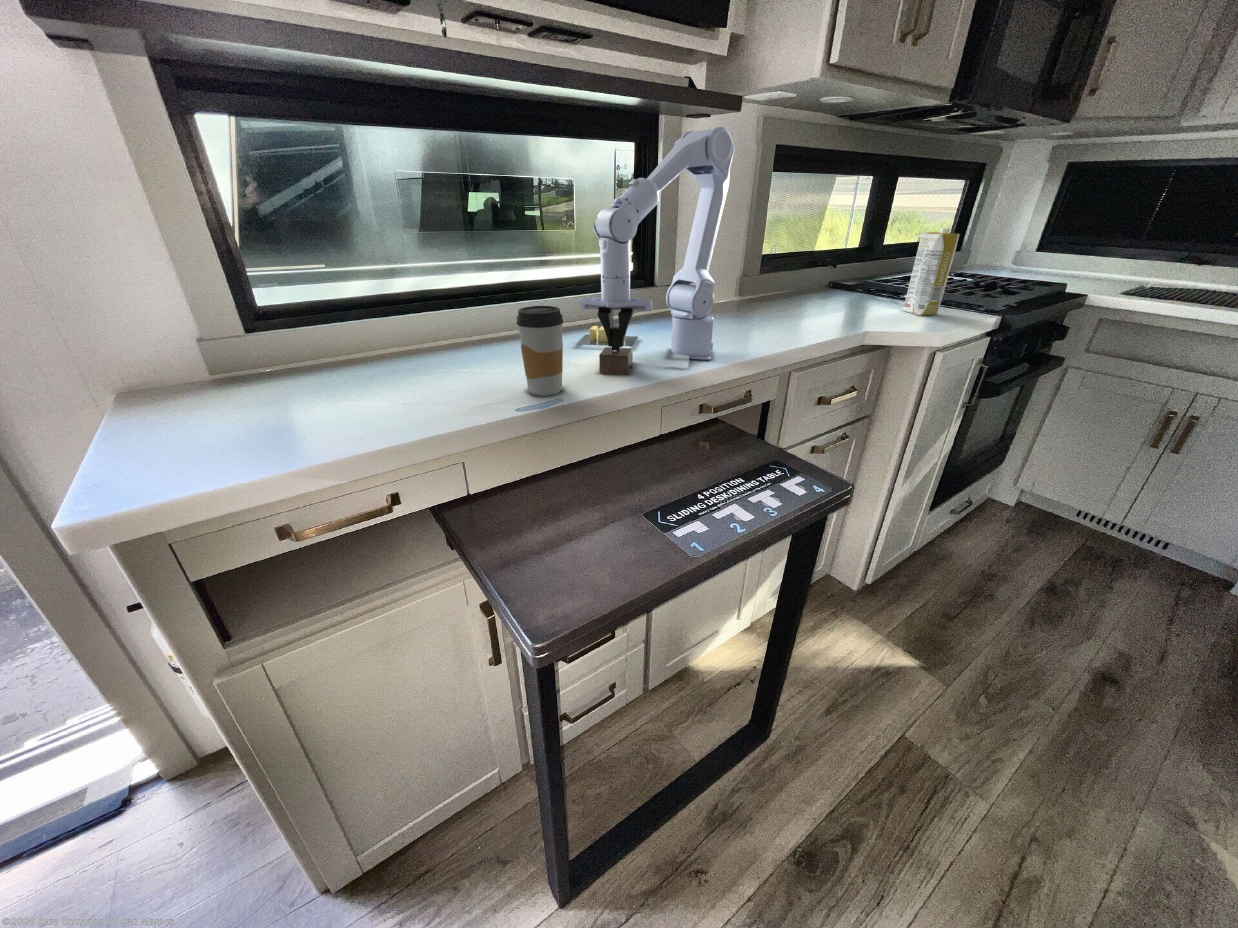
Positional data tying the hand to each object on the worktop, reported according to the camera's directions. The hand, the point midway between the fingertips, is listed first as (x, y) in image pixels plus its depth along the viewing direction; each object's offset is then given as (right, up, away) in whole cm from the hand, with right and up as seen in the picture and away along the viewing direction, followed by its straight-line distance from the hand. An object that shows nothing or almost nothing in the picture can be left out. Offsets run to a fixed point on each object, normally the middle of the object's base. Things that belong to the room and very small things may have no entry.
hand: (616, 345), depth 105 cm
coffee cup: (-13, -11, -9) cm, 19 cm away
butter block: (-1, +6, +21) cm, 22 cm away
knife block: (0, -5, +2) cm, 5 cm away
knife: (0, -5, +2) cm, 5 cm away
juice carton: (+95, +23, +53) cm, 111 cm away
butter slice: (-6, +7, +22) cm, 23 cm away
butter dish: (-2, +5, +22) cm, 22 cm away
